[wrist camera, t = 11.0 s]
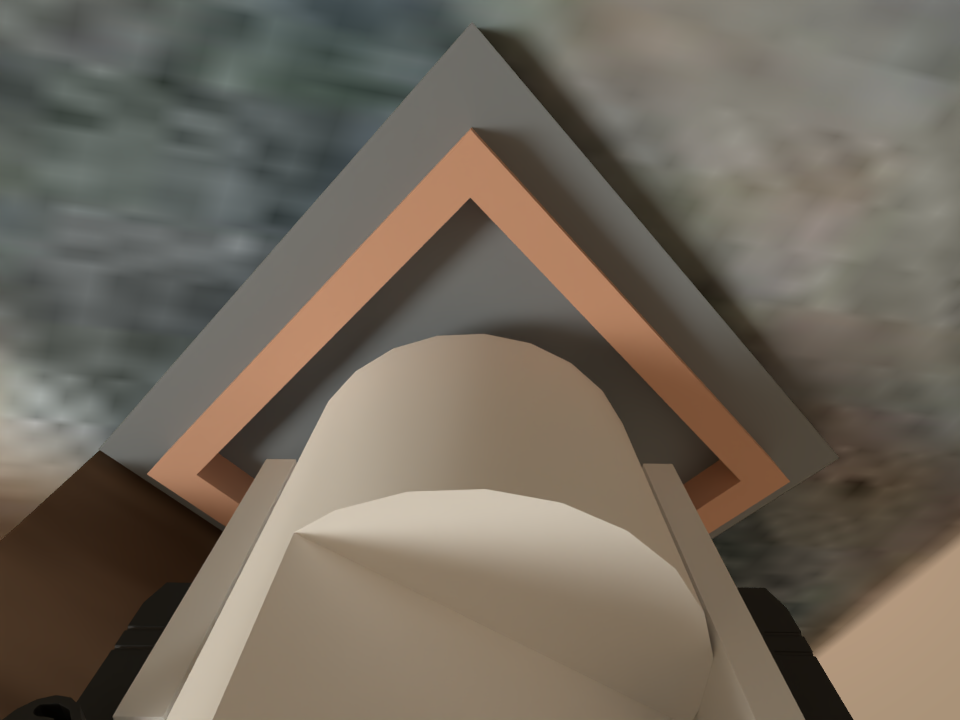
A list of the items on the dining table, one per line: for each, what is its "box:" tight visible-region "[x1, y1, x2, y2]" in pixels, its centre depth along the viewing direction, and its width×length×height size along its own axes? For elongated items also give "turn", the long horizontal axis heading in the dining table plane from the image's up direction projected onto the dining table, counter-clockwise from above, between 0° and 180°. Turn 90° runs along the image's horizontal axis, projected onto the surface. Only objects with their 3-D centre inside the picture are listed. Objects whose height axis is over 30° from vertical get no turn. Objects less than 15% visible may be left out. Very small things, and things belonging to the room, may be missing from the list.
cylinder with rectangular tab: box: [166, 334, 713, 720], centre depth 10 cm, size 9×9×12 cm
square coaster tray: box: [99, 22, 839, 539], centre depth 17 cm, size 16×16×2 cm
